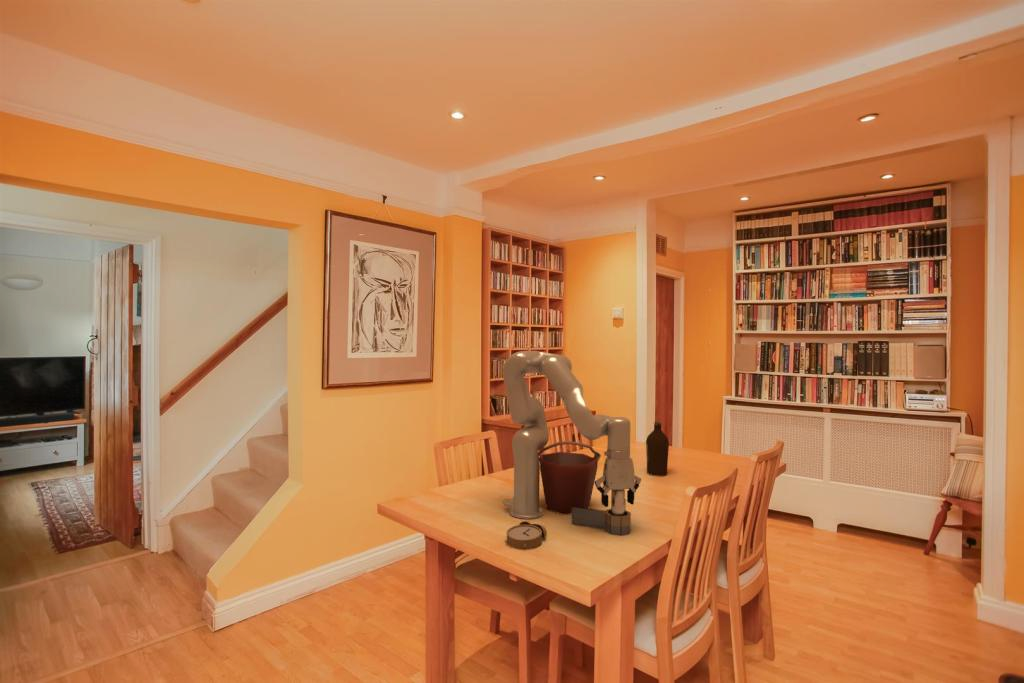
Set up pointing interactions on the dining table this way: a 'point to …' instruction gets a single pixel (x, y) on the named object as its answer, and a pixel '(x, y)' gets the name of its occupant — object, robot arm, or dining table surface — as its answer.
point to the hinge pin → (617, 502)
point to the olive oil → (657, 451)
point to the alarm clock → (526, 535)
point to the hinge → (602, 520)
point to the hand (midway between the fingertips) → (617, 504)
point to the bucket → (567, 478)
